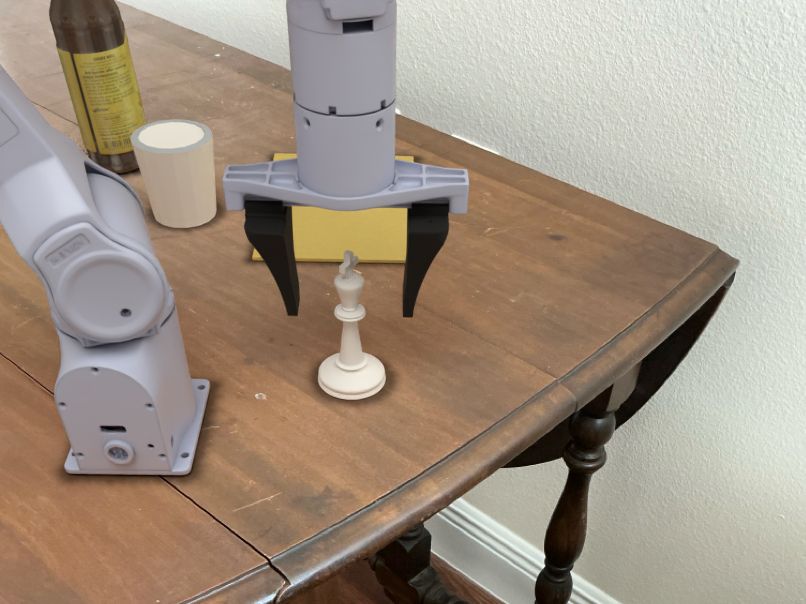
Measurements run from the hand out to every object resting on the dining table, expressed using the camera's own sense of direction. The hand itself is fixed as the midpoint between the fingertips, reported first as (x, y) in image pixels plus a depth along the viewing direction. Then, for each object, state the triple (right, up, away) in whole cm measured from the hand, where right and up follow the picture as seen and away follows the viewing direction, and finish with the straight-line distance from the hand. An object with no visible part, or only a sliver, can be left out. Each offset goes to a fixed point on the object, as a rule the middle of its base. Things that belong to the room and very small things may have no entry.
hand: (350, 308), depth 57 cm
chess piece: (0, -4, +5) cm, 6 cm away
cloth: (-2, +16, +22) cm, 27 cm away
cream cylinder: (-16, +14, +20) cm, 30 cm away
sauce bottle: (-24, +22, +27) cm, 42 cm away
